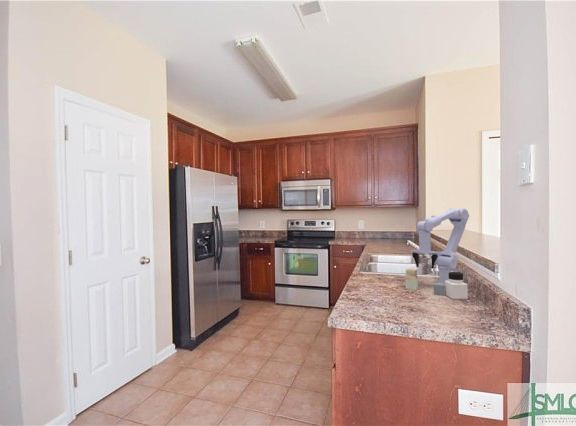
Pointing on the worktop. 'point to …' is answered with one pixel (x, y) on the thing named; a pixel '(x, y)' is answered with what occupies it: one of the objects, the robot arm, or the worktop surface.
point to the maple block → (411, 274)
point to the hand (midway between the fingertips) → (425, 267)
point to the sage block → (411, 284)
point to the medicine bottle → (456, 286)
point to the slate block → (439, 289)
